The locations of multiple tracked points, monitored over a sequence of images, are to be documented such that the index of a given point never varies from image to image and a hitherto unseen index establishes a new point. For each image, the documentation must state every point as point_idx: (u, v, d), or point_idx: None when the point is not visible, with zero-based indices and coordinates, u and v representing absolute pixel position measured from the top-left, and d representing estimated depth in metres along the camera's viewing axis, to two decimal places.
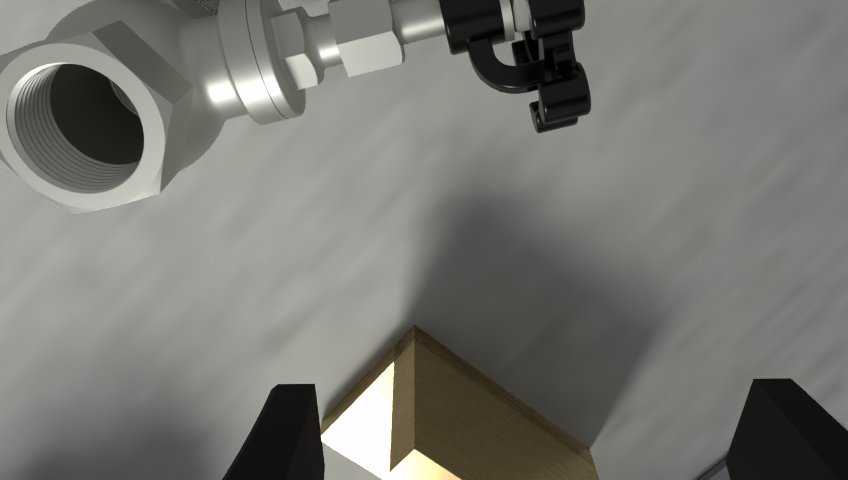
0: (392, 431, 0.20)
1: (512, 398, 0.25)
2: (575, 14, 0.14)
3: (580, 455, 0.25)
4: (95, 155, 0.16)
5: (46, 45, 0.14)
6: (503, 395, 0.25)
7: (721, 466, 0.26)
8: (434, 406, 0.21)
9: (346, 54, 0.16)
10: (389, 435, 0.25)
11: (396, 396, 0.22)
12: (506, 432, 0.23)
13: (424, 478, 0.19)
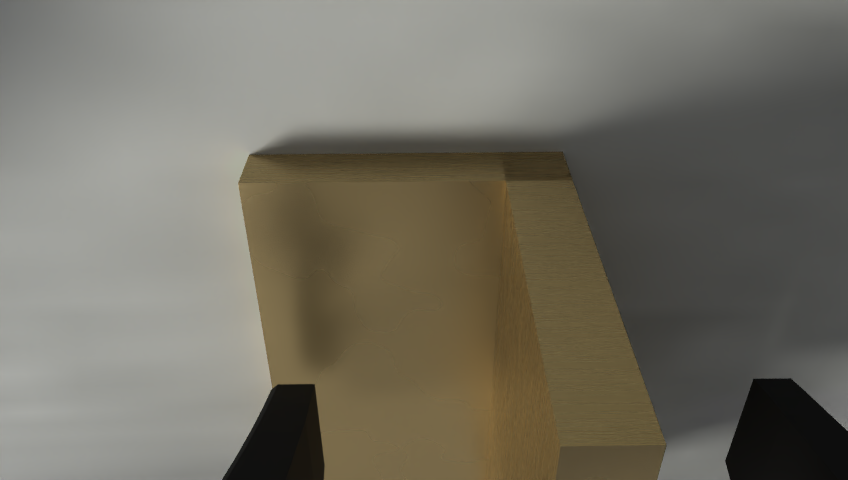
0: (543, 335, 0.08)
1: None
2: None
3: None
4: None
5: None
6: None
7: None
8: None
9: None
10: (353, 274, 0.12)
11: (536, 259, 0.09)
12: None
13: None
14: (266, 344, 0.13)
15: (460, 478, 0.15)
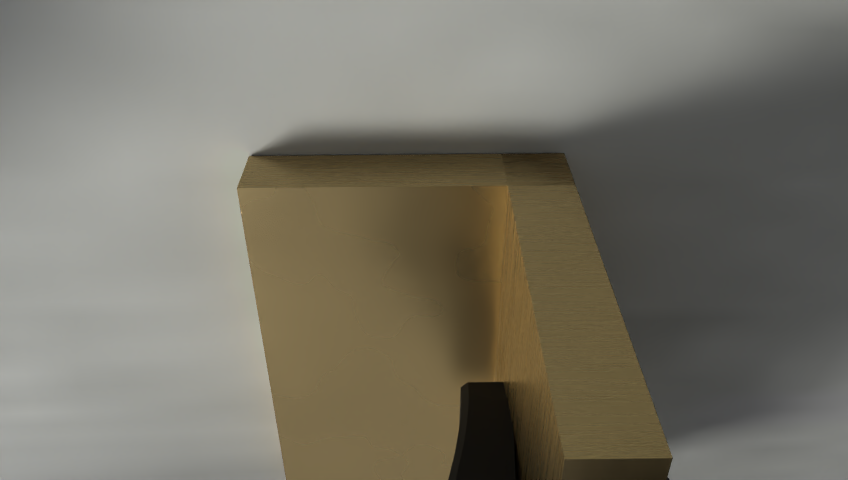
0: (546, 344, 0.08)
1: None
2: None
3: None
4: None
5: None
6: None
7: None
8: None
9: None
10: (353, 280, 0.12)
11: (539, 266, 0.09)
12: None
13: None
14: (265, 350, 0.13)
15: None
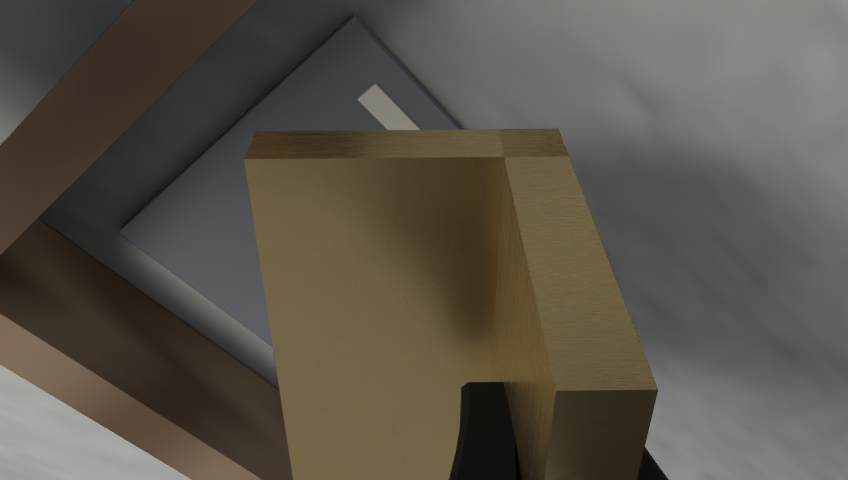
0: (539, 293, 0.09)
1: None
2: None
3: None
4: None
5: None
6: None
7: None
8: None
9: None
10: (355, 251, 0.12)
11: (533, 226, 0.10)
12: None
13: (590, 446, 0.08)
14: (270, 321, 0.13)
15: None
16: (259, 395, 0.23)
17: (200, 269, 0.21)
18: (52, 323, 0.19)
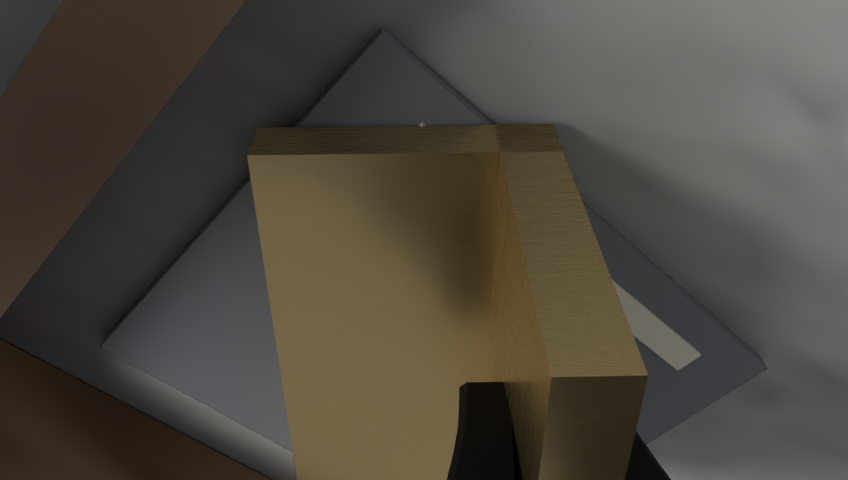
0: (535, 284, 0.09)
1: None
2: None
3: None
4: None
5: None
6: None
7: (668, 280, 0.15)
8: None
9: None
10: (356, 244, 0.13)
11: (529, 220, 0.10)
12: None
13: (584, 430, 0.08)
14: (272, 313, 0.14)
15: None
16: None
17: (212, 381, 0.16)
18: None
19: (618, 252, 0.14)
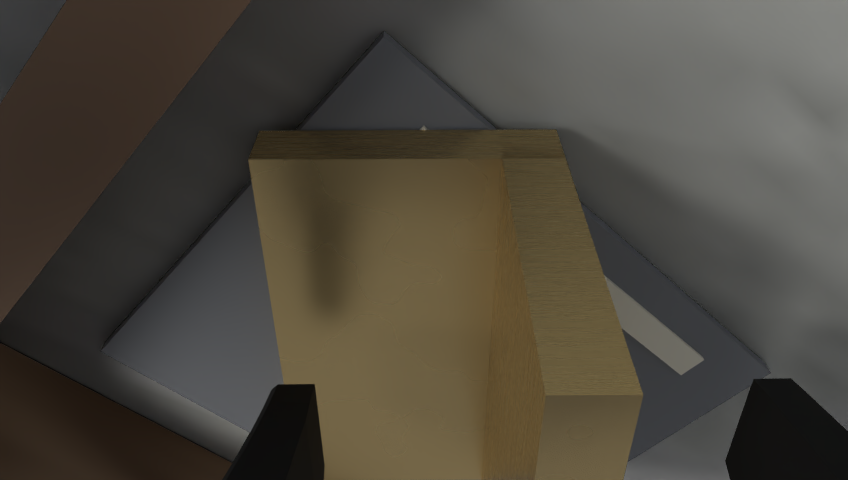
0: (533, 298, 0.09)
1: None
2: None
3: None
4: None
5: None
6: None
7: (670, 284, 0.15)
8: None
9: None
10: (357, 248, 0.13)
11: (528, 230, 0.10)
12: None
13: (579, 447, 0.08)
14: (274, 315, 0.14)
15: (459, 448, 0.16)
16: None
17: (213, 385, 0.16)
18: None
19: (621, 256, 0.14)
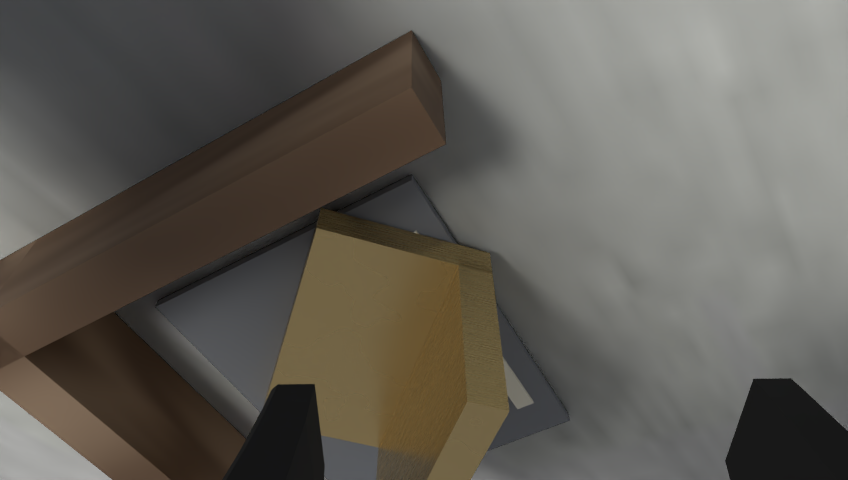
0: (466, 352, 0.18)
1: None
2: None
3: None
4: None
5: None
6: None
7: (527, 353, 0.24)
8: None
9: None
10: (358, 291, 0.21)
11: (468, 314, 0.19)
12: None
13: (473, 429, 0.17)
14: (291, 316, 0.21)
15: (372, 423, 0.24)
16: None
17: (221, 347, 0.24)
18: (90, 388, 0.21)
19: (503, 330, 0.23)
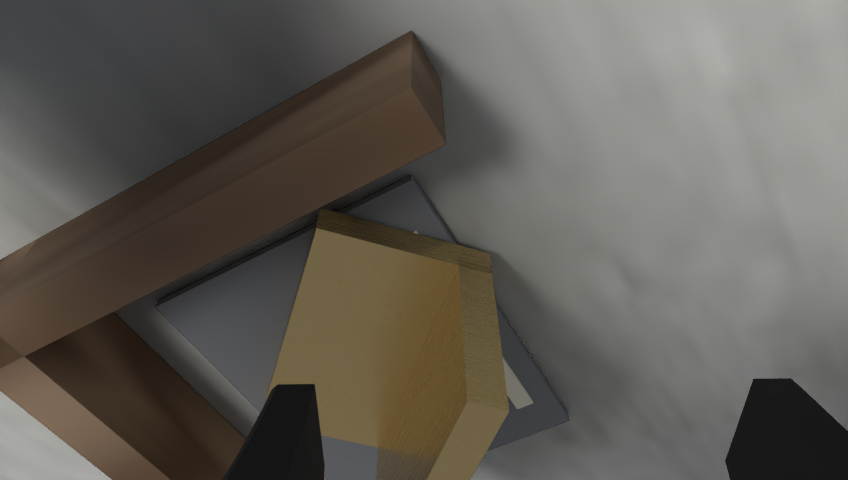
0: (466, 353, 0.18)
1: None
2: None
3: None
4: None
5: None
6: None
7: (527, 353, 0.24)
8: None
9: None
10: (358, 291, 0.21)
11: (468, 314, 0.19)
12: None
13: (473, 429, 0.17)
14: (291, 316, 0.21)
15: (372, 423, 0.24)
16: None
17: (220, 347, 0.24)
18: (89, 388, 0.21)
19: (503, 330, 0.23)
